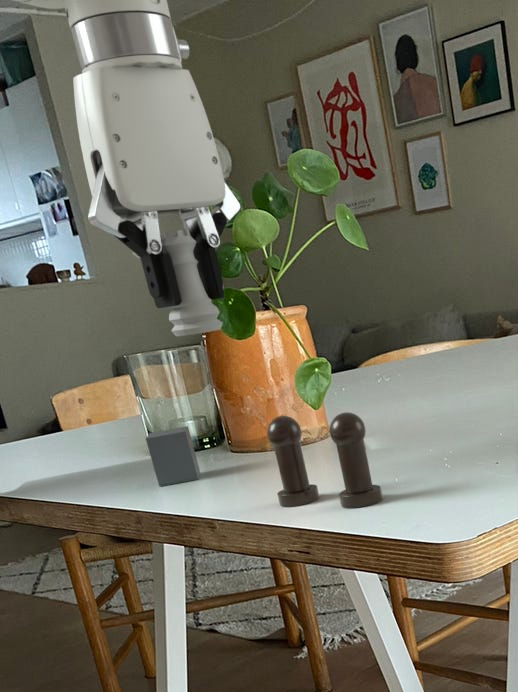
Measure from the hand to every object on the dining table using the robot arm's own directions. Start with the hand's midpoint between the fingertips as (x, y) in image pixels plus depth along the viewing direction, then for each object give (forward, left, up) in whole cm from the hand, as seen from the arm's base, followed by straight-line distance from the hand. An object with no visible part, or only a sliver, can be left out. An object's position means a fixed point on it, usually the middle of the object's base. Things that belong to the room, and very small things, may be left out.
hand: (190, 300), depth 79 cm
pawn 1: (+7, -6, -17) cm, 19 cm away
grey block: (-10, +13, -17) cm, 23 cm away
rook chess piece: (0, 0, -3) cm, 3 cm away
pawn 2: (+13, -10, -17) cm, 23 cm away
